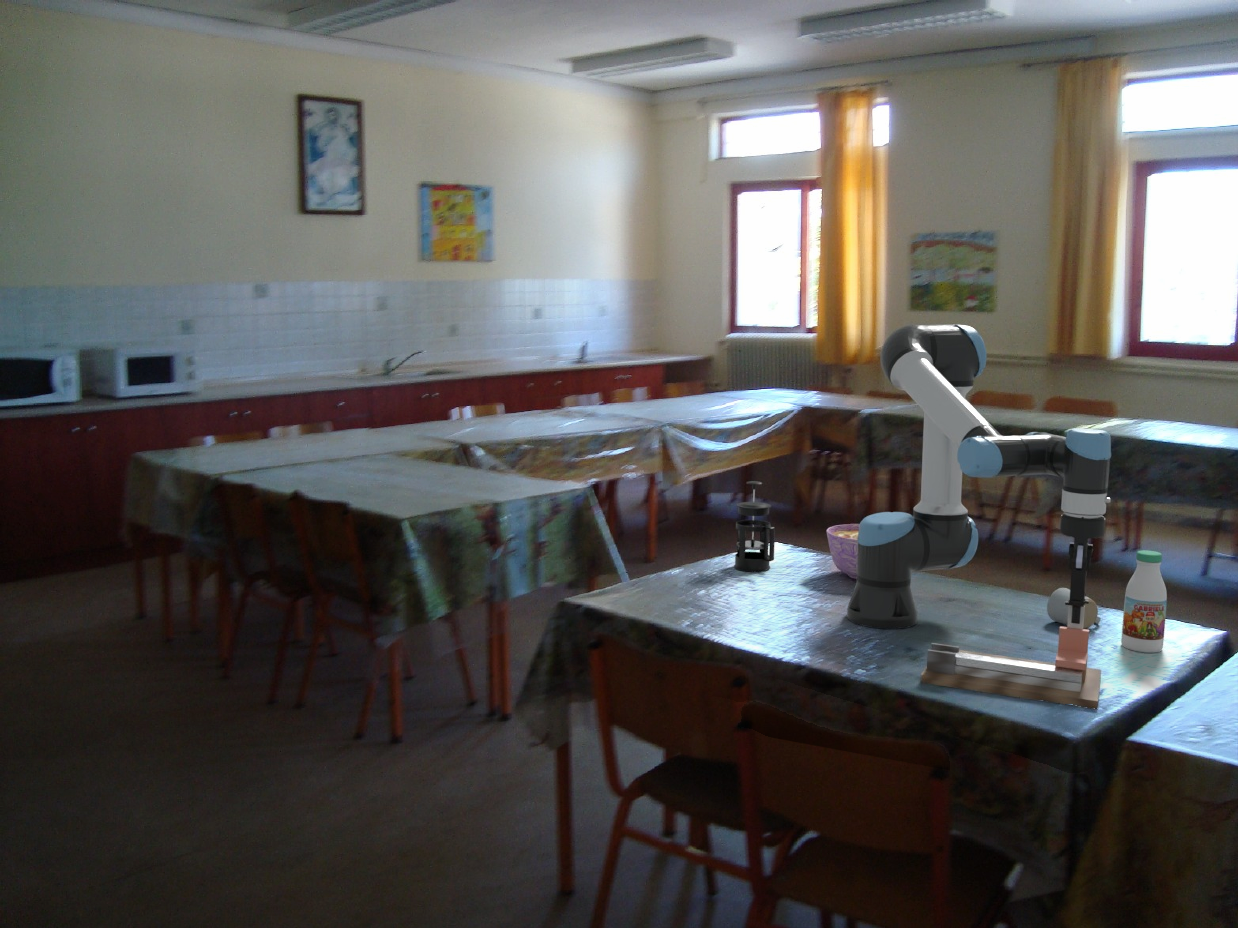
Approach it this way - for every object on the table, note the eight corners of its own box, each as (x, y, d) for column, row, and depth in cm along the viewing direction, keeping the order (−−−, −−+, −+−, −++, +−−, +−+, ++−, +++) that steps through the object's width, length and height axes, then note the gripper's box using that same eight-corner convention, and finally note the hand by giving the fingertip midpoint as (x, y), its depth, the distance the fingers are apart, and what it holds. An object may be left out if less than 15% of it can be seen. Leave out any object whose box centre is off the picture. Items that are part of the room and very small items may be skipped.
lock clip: (1055, 665, 195) (1057, 638, 195) (1058, 653, 202) (1060, 626, 202) (1085, 670, 193) (1087, 642, 192) (1087, 657, 200) (1089, 629, 200)
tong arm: (941, 662, 202) (941, 654, 202) (944, 657, 205) (944, 650, 205) (1080, 682, 192) (1081, 674, 192) (1081, 677, 195) (1082, 669, 195)
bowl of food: (903, 569, 285) (905, 526, 283) (906, 588, 266) (908, 542, 264) (826, 564, 289) (827, 522, 288) (823, 583, 270) (824, 538, 268)
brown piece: (920, 682, 201) (922, 653, 200) (937, 654, 217) (938, 627, 216) (1097, 709, 188) (1099, 679, 187) (1100, 677, 204) (1102, 649, 203)
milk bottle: (1113, 642, 225) (1120, 548, 222) (1148, 641, 226) (1156, 547, 223) (1134, 654, 218) (1141, 557, 215) (1170, 653, 218) (1179, 556, 215)
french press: (724, 567, 286) (726, 481, 282) (746, 561, 292) (748, 477, 289) (760, 575, 277) (763, 486, 274) (782, 569, 284) (785, 482, 281)
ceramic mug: (1074, 633, 231) (1077, 598, 230) (1044, 622, 239) (1047, 588, 237) (1109, 627, 236) (1113, 593, 235) (1079, 617, 243) (1082, 584, 242)
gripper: (1105, 522, 191) (1095, 651, 194) (1106, 509, 202) (1097, 631, 206) (1059, 518, 194) (1050, 645, 197) (1063, 506, 205) (1055, 626, 209)
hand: (1074, 638), depth 202 cm, fingers closed
